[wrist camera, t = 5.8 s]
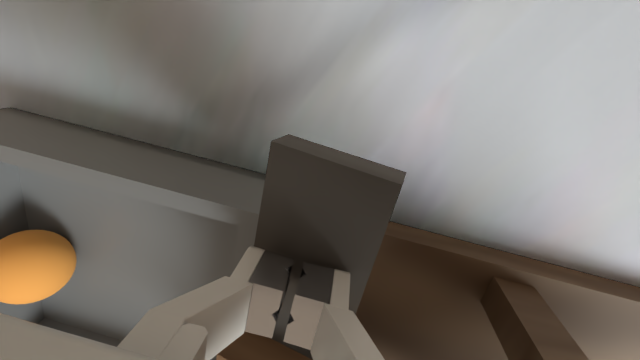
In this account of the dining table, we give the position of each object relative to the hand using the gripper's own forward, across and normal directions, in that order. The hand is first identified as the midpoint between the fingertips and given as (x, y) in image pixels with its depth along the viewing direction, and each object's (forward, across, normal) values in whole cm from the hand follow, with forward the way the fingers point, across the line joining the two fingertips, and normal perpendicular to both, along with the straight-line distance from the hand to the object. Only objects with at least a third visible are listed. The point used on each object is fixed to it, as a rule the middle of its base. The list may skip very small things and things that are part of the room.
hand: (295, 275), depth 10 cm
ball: (+4, +15, +8) cm, 17 cm away
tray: (+7, +10, +8) cm, 14 cm away
